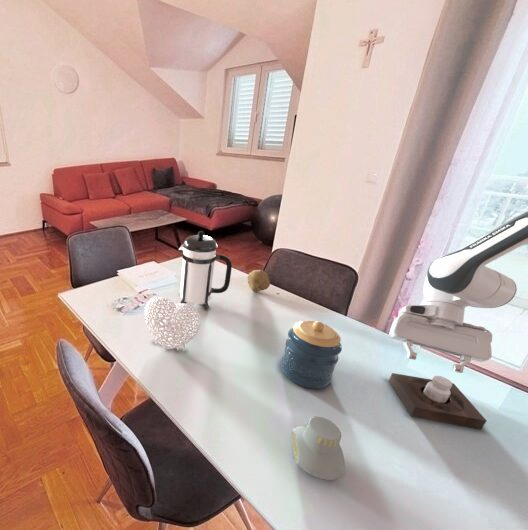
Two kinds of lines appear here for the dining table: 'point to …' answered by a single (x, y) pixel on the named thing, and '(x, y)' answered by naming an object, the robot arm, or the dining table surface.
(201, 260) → the coffee press
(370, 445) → the dining table surface
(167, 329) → the decorative heart
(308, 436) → the air freshener
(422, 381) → the socket pad
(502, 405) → the dining table surface
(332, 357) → the canister
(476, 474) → the dining table surface
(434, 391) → the pill bottle
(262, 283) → the natural sponge
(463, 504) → the dining table surface
